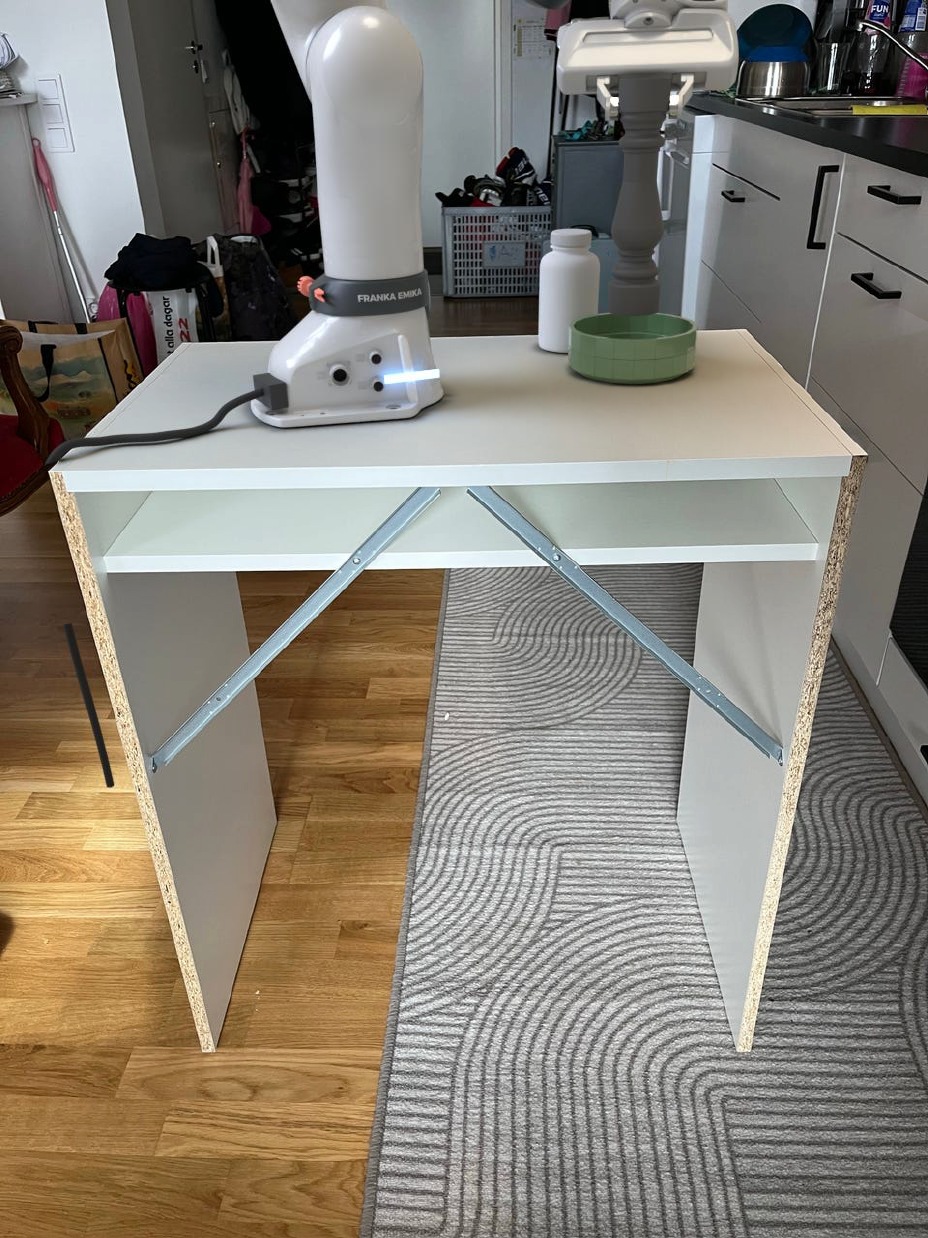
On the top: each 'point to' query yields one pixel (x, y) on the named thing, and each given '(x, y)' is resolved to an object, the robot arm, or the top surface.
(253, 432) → the top surface
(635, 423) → the top surface
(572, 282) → the pill bottle
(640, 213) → the candle holder
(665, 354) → the bowl
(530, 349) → the top surface
